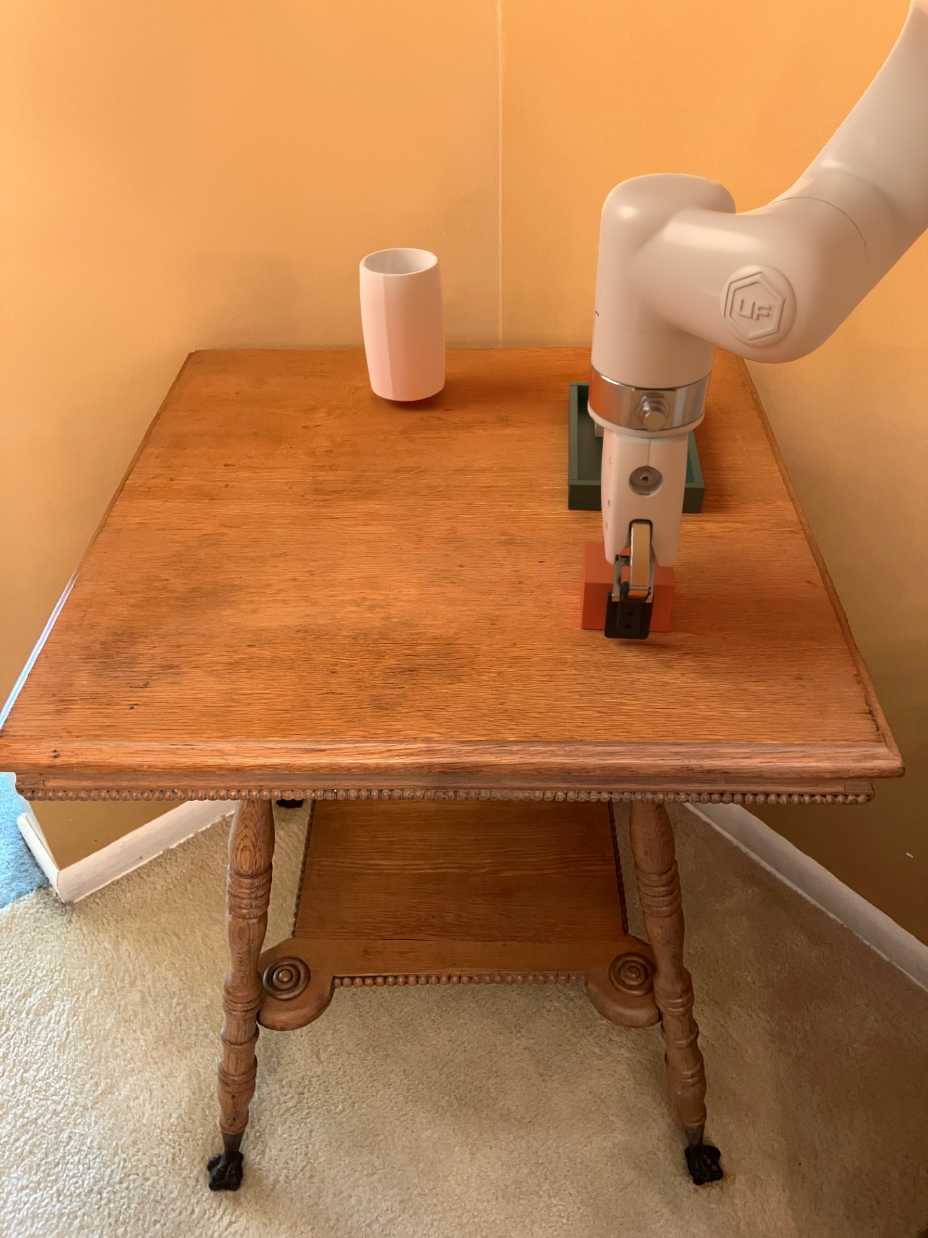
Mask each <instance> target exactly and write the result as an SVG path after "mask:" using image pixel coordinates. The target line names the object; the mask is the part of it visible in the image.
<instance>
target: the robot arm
mask: <svg viewBox="0 0 928 1238" xmlns="http://www.w3.org/2000/svg"><path fill="white" fill-rule="evenodd" d="M736 208H737V207H736V204H735V200H734V198H733V196H732V194H731V192H730V191H729V190H728V189H727V188H726V187H725V186H724V185H722V184H721V183H719V182H718V181H715V180H712V179H709V178H707V177H703V176H699V175H695V174H689V173H676V172H675V173H674V172H660V173H659V172H658V173H648V174H641V175H639V176H635V177H631V178H628V179H625V180H623V181H621V182H620V183H618V184H616V186H614V187H613V188H612V189H611V190H610V192H609V193H608V194H607V196H606V198H605V201H604V203H603V205H602V210H601V214H600V215H601V216H600V224H599V235H598V237H599V238H598V252H597V264H596V265H597V267H596V280H595V295H594V296H595V297H594V308H593V309H594V310H593V324H592V325H593V326H592V338H591V339H592V342H591V355H590V357H591V359H590V367H589V368H590V369H589V381H588V382H589V397H588V412H589V414H590V416H591V417H592V418H593V420H594V421H595V422H596V423H598V424H599V425H601V426H602V427H604V437H603V452H602V471H601V503H602V510H601V519H602V532H603V543H604V544H605V556H606V560H607V561H608V562H609V563H610V564H612V565H613V583H612V592H608V596H607V606H606V616H605V626H604V629H603V635H604V637H605V638H607V639H616V640H617V639H619V640H620V639H621V640H642V641H643V640H644V641H645V640H647V639H648V638H649V636H650V631H649V630H650V623H651V616H652V609H653V602H654V593H653V584H654V569H655V557H656V559H657V562H658V564H659V566H660V567H667V568H670V567H672V566H673V567H674V565H676V563H677V560H678V551H679V543H680V533H681V524H682V515H683V512H682V507H683V499H684V489H685V479H686V467H687V450H688V431H691V430H692V429H693V430H694V429H695V428H697V427H699V425H700V424H702V422H703V420H704V419H705V413H706V408H707V402H708V396H709V390H710V383H711V377H712V370H713V364H714V359H715V352H716V347H717V348H719V349H721V350H722V351H725V352H727V353H730V354H732V355H734V356H737V357H739V358H742V359H745V360H748V361H752V362H756V363H760V364H772V365H779V364H785V363H791V362H794V361H798V360H800V359H802V358H804V357H807V356H808V355H810V354H812V353H813V352H815V351H816V350H817V349H819V348H820V347H821V346H822V345H824V344H825V343H826V342H827V341H828V339H829V338H830V337H832V335H833V334H834V333H835V332H836V331H837V329H838V328H839V327H840V326H841V325H842V324H843V323H844V322H845V321H846V320H847V319H848V318H849V316H850V315H851V314H852V313H853V311H854V310H855V309H856V308H857V307H858V306H859V304H861V302H862V301H863V300H864V299H865V298H866V297H867V296H868V295H869V294H870V293H871V291H873V290H874V289H875V287H876V286H877V285H878V284H879V283H880V282H881V281H882V280H883V278H884V277H885V276H886V275H887V274H888V273H889V272H890V271H891V269H892V268H893V267H894V266H895V265H896V264H897V263H898V262H899V261H900V259H901V258H903V256H904V255H905V254H906V253H907V252H908V251H909V249H910V248H911V247H912V246H913V245H914V244H915V242H916V241H918V240H919V238H921V236H922V235H923V234H924V233H925V232H926V231H927V229H928V0H910V4H909V7H908V13H907V16H906V19H905V21H904V25H903V27H902V28H901V31H900V34H899V36H898V38H897V39H896V42H895V44H894V45H893V47H892V49H891V50H890V52H889V54H888V56H887V57H886V59H885V61H884V63H883V64H882V66H881V67H880V69H878V72H877V73H876V75H875V76H874V78H873V79H872V81H871V82H870V84H869V85H868V87H867V88H866V89H865V91H864V93H863V94H862V95H861V97H860V98H859V99H858V101H857V102H856V104H855V105H854V106H853V107H852V109H851V111H850V112H849V113H848V114H847V116H846V117H845V119H844V120H843V121H842V123H841V124H840V125H839V127H838V128H837V129H836V130H835V132H834V133H833V134H832V136H831V137H830V138H829V140H828V141H827V143H825V145H824V146H823V148H822V149H821V150H820V152H819V153H818V154H817V155H816V156H815V157H814V159H813V160H812V162H810V164H809V166H808V167H807V168H806V169H805V170H804V172H803V173H802V174H801V176H800V177H799V178H798V179H797V180H796V182H794V183H793V185H792V186H791V187H790V188H788V189H786V190H785V191H783V192H782V193H781V194H779V195H778V196H777V197H775V198H774V199H773V200H771V201H770V202H769V203H767V204H766V205H763V206H761V207H758V208H753V209H750V210H747V211H743V212H737V210H736ZM625 547H629V548H630V551H629V556H626V555H621V552H622V551H623V549H624V548H625ZM622 566H629V577H628V581H623V583H622V584H621V577H622Z"/></svg>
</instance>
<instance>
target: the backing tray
mask: <svg viewBox="0 0 928 1238" xmlns="http://www.w3.org/2000/svg"><path fill="white" fill-rule="evenodd" d="M589 382H590V381H569V388H568V389H569V390H568V428H567V429H568V432H567V433H568V436H567V437H568V439H567V442H568V449H567V456H568V457H567V459H568V460H567V470H568V471H567V509H568V510H579V511H580V510H581V511H582V510H583V511H584V510H585V511H602V503H601V471H602V452H603V437H595V425H594V420H593V418H592V417H591V416H590V414H589V412H588V397H589ZM700 461H701V460H700V456H699V452H698V445H697V442H696V436H695V431H694V429H692V430H691V431H688V450H687V467H686V479H685V489H684V499H683V507H682V513H686V514H687V513H690V514H701V513H702V509H703V503H704V496H705V491H706V486H705V481H704V476H703V470H702V466H701V462H700Z"/></svg>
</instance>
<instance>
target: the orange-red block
mask: <svg viewBox="0 0 928 1238" xmlns="http://www.w3.org/2000/svg"><path fill="white" fill-rule="evenodd" d="M629 551H630V548H629V547H625V548H624V549H623V551H622V552H621V555H626V556H629ZM580 574H581V577H580V587H579V588H580V629H583V630H604V626H605V616H606V606H607V596H608V592H612V583H613V565H612V564H610V563H609V562H608V561H607V560H606V556H605V544H604V542H599V541H598V542H597V541H596V542H595V541H584V542H583V546H582V561H581V573H580ZM628 577H629V566H622V577H621V584H622V583H623V581H628ZM675 591H676V581H675V572H674V565H673V566H672V567H670V568H667V567H660V566H659V564H658V562H657V559H656V557H655V569H654V584H653V593H654V602H653V609H652V616H651V623H650V630H649V632H657V633H659V632H660V633H668V632H669V629H670V622H671V617H672V616H671V615H672V609H673V603H674V598H675Z"/></svg>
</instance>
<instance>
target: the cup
mask: <svg viewBox="0 0 928 1238" xmlns="http://www.w3.org/2000/svg"><path fill="white" fill-rule="evenodd" d="M441 274H442V273H441V265H440V259H439V258H438V257H437V256H436V254H434V253H433V252H431V251H429V250H426V249H420V248H415V247H414V248H413V247H392V248H386V249H381V250H376V251H375V252H372V253H369V254H367V255H365V256H364V257H363V258H362V259H361V260H360V262H359V301H360V316H361V326H362V333H363V342H364V350H365V355H366V356H365V357H366V363H367V369H368V375H369V380H370V386H371V387H370V388H371V390H372V391H373V393H374V394H376V395H377V396H378V397H380V398H384V399H386V400H391V401H395V402H414V401H418V400H419V401H420V400H423V399H427V398H430V397H432V396H434V395H436V394H439V392H440V391H442V390H443V389H444V386H445V374H446V329H445V328H446V324H445V306H444V305H445V304H444V295H443V294H444V292H443V282H442V281H443V280H442V275H441Z"/></svg>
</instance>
